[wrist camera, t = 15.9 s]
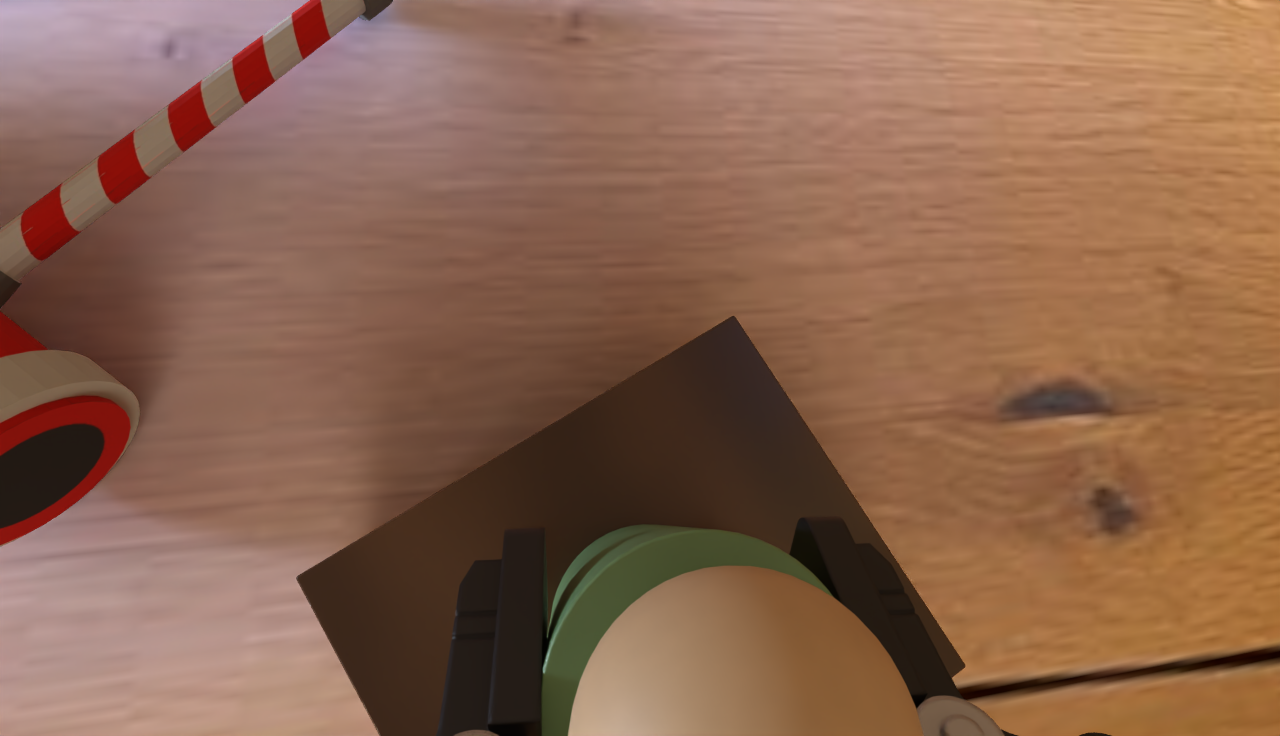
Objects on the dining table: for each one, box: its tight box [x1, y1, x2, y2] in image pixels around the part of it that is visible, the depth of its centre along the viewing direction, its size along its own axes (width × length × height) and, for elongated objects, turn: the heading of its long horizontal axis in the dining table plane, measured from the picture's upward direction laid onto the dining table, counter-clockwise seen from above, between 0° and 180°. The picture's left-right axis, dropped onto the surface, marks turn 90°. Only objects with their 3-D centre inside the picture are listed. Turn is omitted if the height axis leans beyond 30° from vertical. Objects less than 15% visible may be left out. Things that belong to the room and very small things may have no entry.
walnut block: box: [296, 316, 965, 736], centre depth 20 cm, size 13×11×6 cm
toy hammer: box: [0, 0, 393, 547], centre depth 21 cm, size 23×12×6 cm, turn 143°
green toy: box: [541, 524, 924, 736], centre depth 11 cm, size 5×5×11 cm
